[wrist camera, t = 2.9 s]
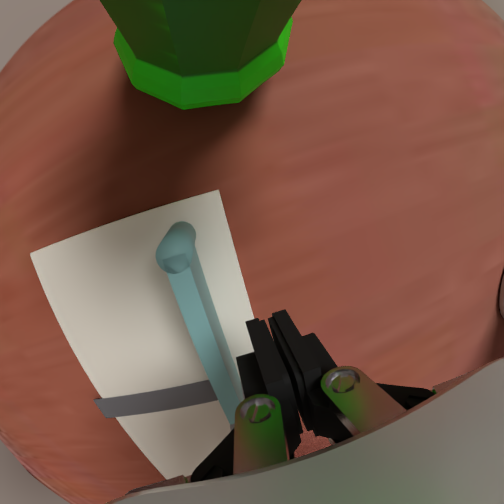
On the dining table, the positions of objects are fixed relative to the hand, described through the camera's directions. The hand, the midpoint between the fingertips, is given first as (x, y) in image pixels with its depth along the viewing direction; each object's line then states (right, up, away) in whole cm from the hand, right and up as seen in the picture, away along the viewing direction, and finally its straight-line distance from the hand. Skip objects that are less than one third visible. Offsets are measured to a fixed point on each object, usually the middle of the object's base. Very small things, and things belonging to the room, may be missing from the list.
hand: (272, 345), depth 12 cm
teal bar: (-4, -1, +9) cm, 10 cm away
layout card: (-7, -9, +11) cm, 16 cm away
